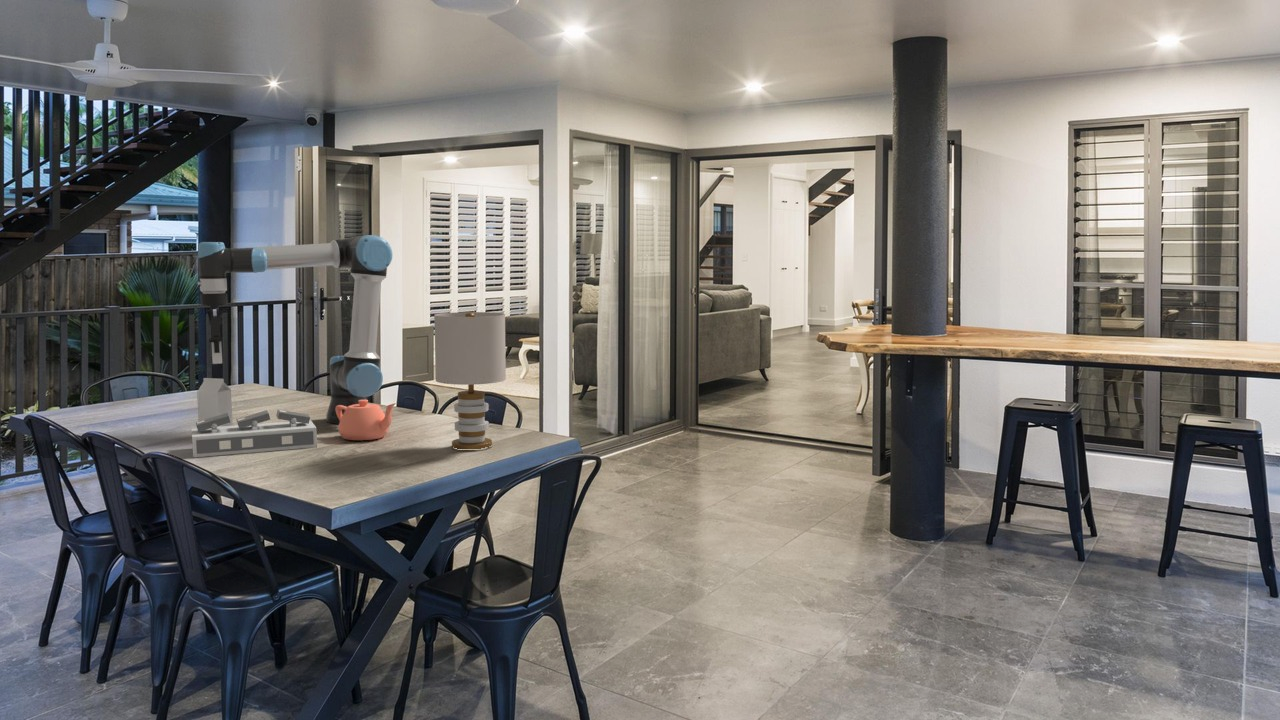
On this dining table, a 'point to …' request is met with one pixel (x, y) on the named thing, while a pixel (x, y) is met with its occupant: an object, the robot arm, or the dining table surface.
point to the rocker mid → (253, 419)
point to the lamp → (470, 367)
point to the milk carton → (214, 400)
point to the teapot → (363, 421)
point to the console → (253, 438)
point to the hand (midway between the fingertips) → (217, 361)
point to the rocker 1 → (213, 422)
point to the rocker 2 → (293, 416)
